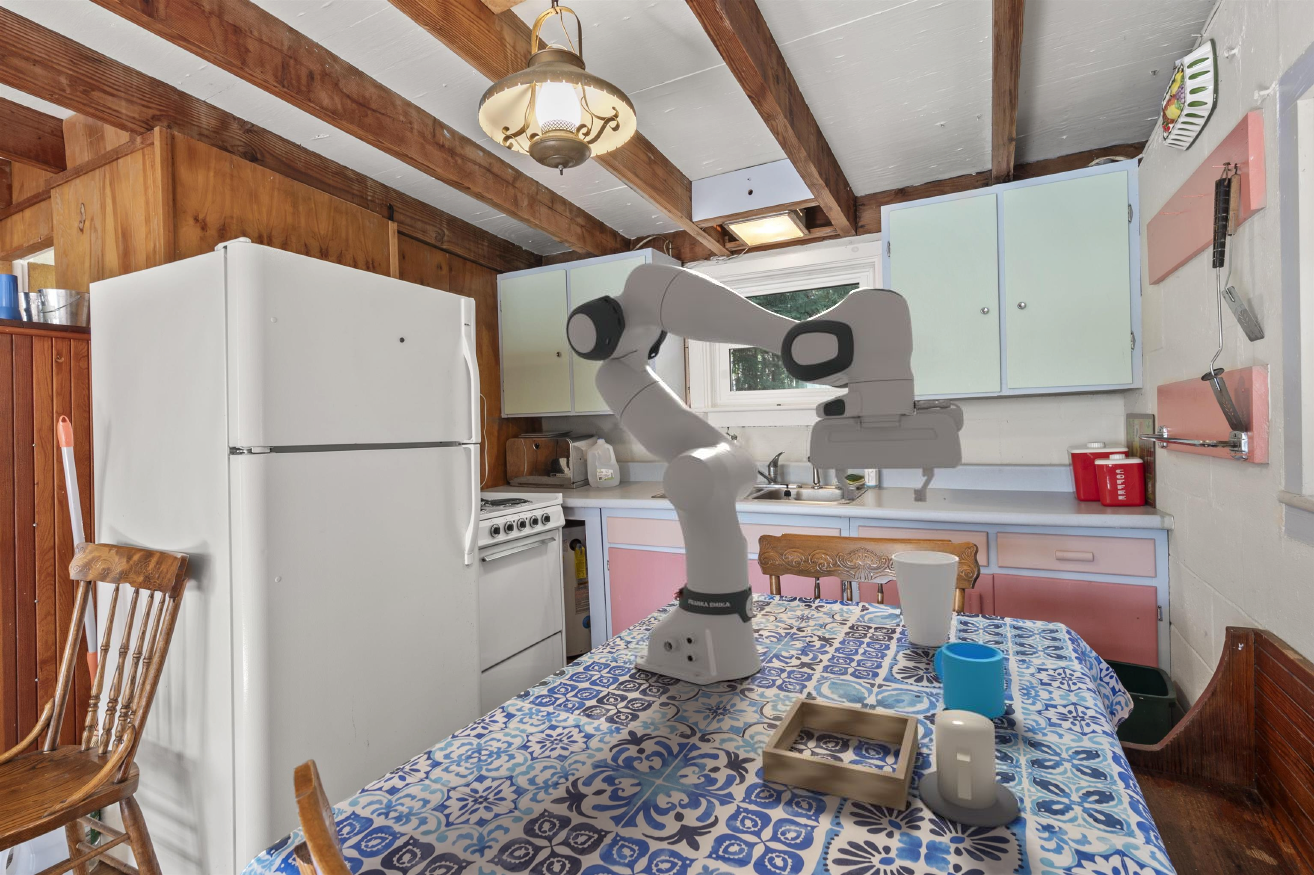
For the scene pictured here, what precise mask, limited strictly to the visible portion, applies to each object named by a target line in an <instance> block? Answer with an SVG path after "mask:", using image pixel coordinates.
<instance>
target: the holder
mask: <svg viewBox="0 0 1314 875" xmlns="http://www.w3.org/2000/svg"><path fill="white" fill-rule="evenodd" d="M918 722H919V721H918V716H914V715H910V714H909V715H908V714H907V715H906V714H901V713H895V712H891V711H890V712H889V711H883V710H875V709H870V708H865V707H857V706H851V705H845V704H839V703H833V702H826V701H821V700H820V701H819V700H814V699H808V698H801V697H796V698H795V700H794V702H793V703H792V705H791V706H790V707H789V709H788V710H787V712H786V713H785V715H784V716H783V718H782V720H781V721H779V724H778V726H777V727H776V729H775V730H774V732H773V733H772V735H771V736H770V738H769V739H768V741H767V742H766V744H765V746H764V747H763V748H762V750H761V754H762V755H761V756H762V757H761V758H762V759H761V760H762V762H761V763H762V780H765V781H770V782H775V783H779V784H784V785H788V786H792V787H796V788H800V789H801V788H802V789H806V790H810V791H814V792H819V793H823V794H827V795H832V796H836V797H840V798H841V797H842V798H846V799H850V800H854V801H859V802H864V803H869V804H873V805H876V806H879V807H886V808H890V809H894V810H899V811H903V812H905V811H906V807H907V801H908V796H909V791H910V788H911V781H912V776H913V772H914V768H915V763H916V762H915V761H916V757H917V751H918V747H919V725H918V724H919V723H918ZM803 727H806V728H811V729H816V730H817V729H818V730H820V731H821V730H822V731H828V732H833V733H838V734H844V735H851V736H856V737H861V738H865V739H871V740H872V739H873V740H878V741H883V742H888V743H889V742H890V743H895V744H900V745H901V748H900V751H899V756H898V759H897V763H896V764H897V765H896V767H895V771H894V772H893V771H889V770H885V769H877V768H873V767H868V766H864V765H860V764H859V765H858V764H854V763H848V762H844V761H838V760H834V759H828V758H824V757H819V756H814V755H809V754H804V753H798V752H794V751H790V749H791V748H792V746H793V744H794V743H795V741H796V739H797V738H798V736H799V734H800V732H801V730H802V729H803Z"/></svg>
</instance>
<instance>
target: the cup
mask: <svg viewBox="0 0 1314 875" xmlns="http://www.w3.org/2000/svg"><path fill="white" fill-rule="evenodd" d="M891 559H892V562H893V563H892V564H893V569H894V575H895V580H896V585H897V590H898V596H899V601H900V608H901V612H902V620H903V624H904V627H905V628H906V631H907V632H906V633H907V639H908V641H909V642H911V643H912V644H916V645H917V646H918V645H919V646H923V647H942V646H944V645H945V644H948V638H949V631H950V630H951V628H952V627H951V626H952V618H953V610H954V603H955V602H954V600H955V593H956V584H957V576H958V575H957V574H958V568H959V562H960V559H959V557H958V556H956V555H954V554H951V553H947V552H946V553H945V552H939V551H932V550H931V551H929V550H928V551H927V550H909V551H901V552H897V553H893V555H892V556H891Z"/></svg>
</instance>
